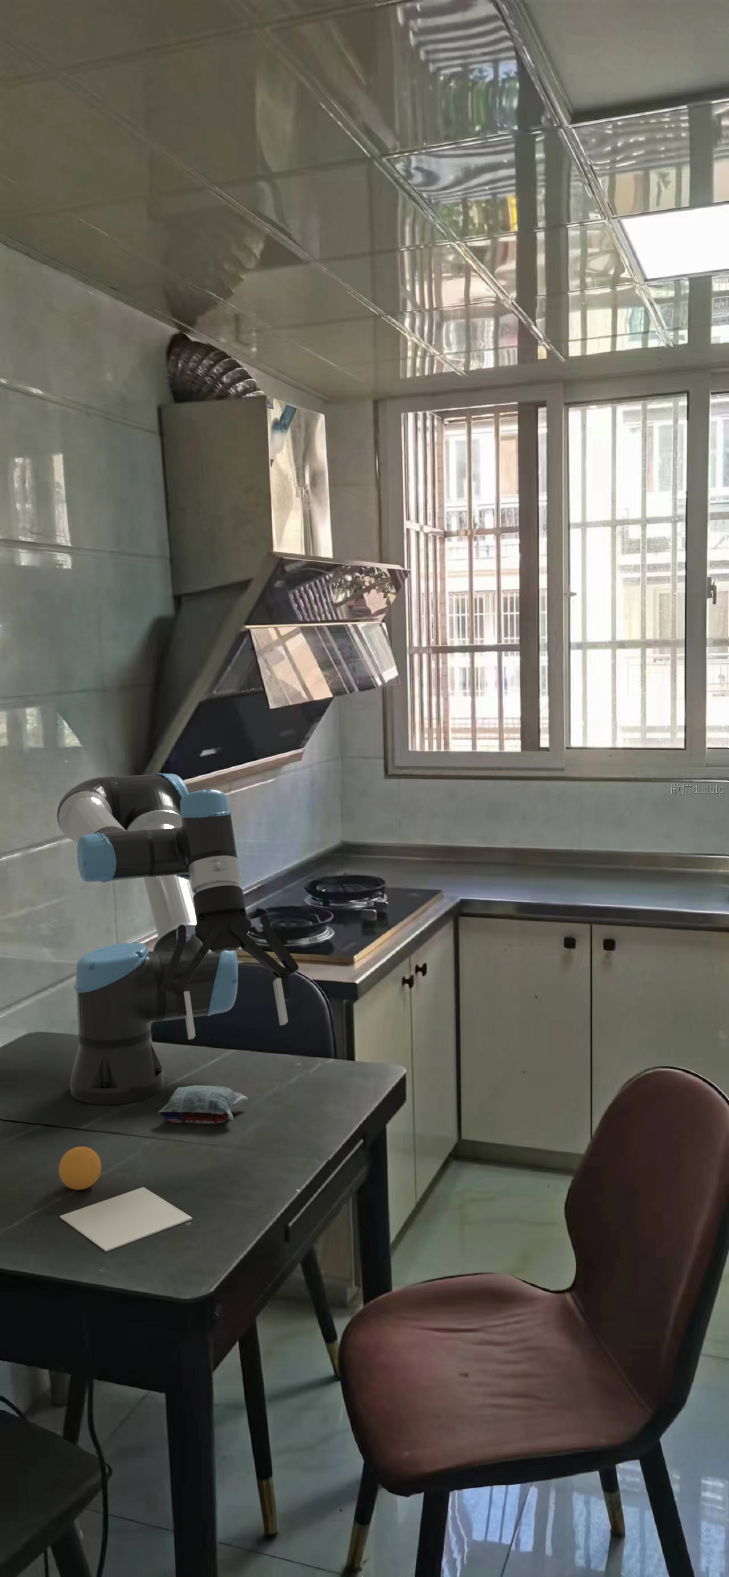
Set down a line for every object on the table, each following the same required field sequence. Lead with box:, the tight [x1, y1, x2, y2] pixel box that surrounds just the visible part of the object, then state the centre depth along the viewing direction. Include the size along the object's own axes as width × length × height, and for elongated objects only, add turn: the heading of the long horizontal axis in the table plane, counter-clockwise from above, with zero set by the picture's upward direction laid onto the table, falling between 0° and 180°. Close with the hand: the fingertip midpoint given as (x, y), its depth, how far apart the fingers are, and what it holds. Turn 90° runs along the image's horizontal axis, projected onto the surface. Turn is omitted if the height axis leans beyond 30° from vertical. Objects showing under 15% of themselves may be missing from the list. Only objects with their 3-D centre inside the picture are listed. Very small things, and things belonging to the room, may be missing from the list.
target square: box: [59, 1186, 193, 1253], centre depth 149 cm, size 12×12×1 cm
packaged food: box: [157, 1084, 249, 1125], centre depth 182 cm, size 9×12×5 cm
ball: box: [58, 1146, 102, 1191], centre depth 158 cm, size 6×6×6 cm
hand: (238, 1030), depth 172 cm, fingers open, 13 cm apart
